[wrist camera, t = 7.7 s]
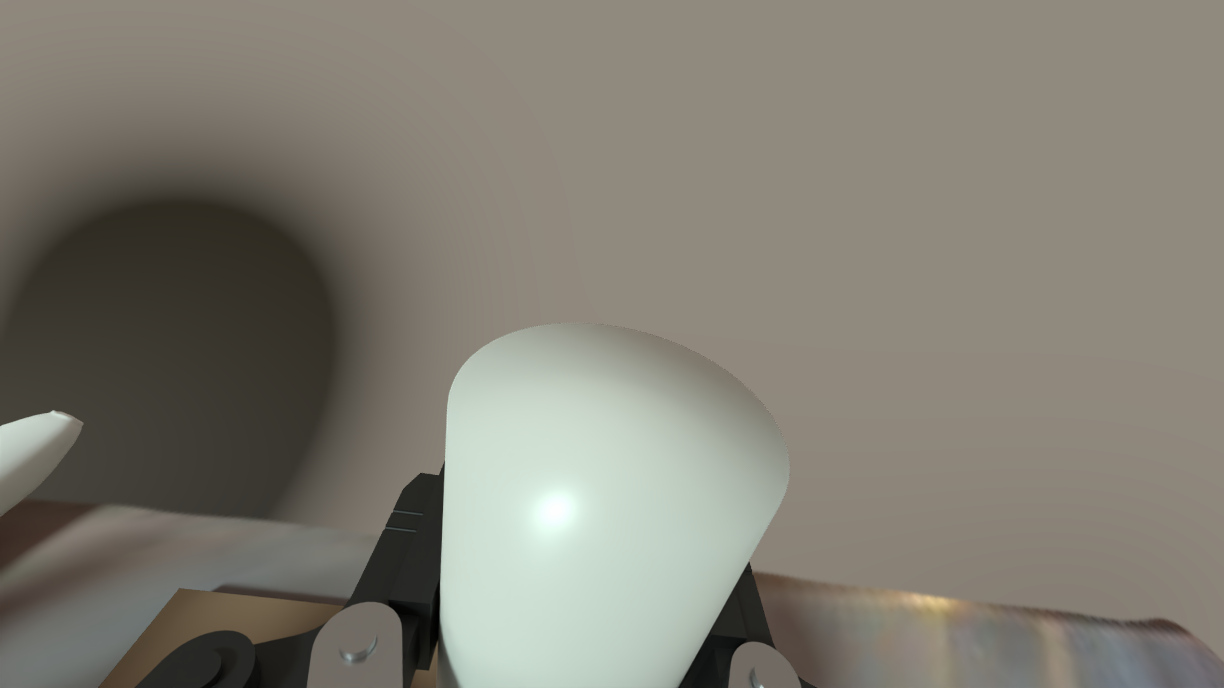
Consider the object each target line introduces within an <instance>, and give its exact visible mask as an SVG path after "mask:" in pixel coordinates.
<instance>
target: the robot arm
mask: <svg viewBox="0 0 1224 688" xmlns="http://www.w3.org/2000/svg"><path fill="white" fill-rule="evenodd" d="M444 476H445V462H444V464H443V467H442V469H441V471H440V474H439V475H432V474H425V473H420V474H419V475H418V476H417V477H416V478H415V479H413V480H412V481H411V482H410V483H409V484H408V485H407V486H406V487H405V488H404V489H403V490H402V493H401V495H400V497H399V499H398V501H397V503H396V505H395V508H394V510H393V513H391V516H390V518H389V520H388V522H387V524H386V527H385V530H383V532H382V534H381V536H380V538H379V540H378V543H377V545H376V547H375V549H374V551H373V553H372V555H371V557H370V559H369V561H368V563H367V566H366V568H365V570H364V572H363V574H362V576H361V578H360V580H359V582H358V584H357V586H356V589H355V591H354V593H353V594H352V596H351V598H350V600H349V601H348V602H347V604H346V605H345V606H344V607H343V608H342V609H341V611H340V612H339V613H337V614H336V615H335V616H333V617H332V618H331V619H330V620H329V621H327V622H326V623H324V624H323V625H321V626H319V627H317V628H315V629H313V630H310V631H308V632H305V633H302V634H298V635H294V636H289V637H285V638H280V639H276V640H271V641H267V642H262V643H258V644H253V643H252V642H251V640H250V639H249V638H248V637H247V636H246V635H244V634H242V633H240V632H236V631H230V630H222V631H214V632H210V633H206V634H203V635H200V636H198V637H196V638H194V639H191V640H189V641H187V642H186V643H184V644H182V645H181V646H179V647H178V648H176V649H175V650H174V651H172V652H171V653H170V654H168V655H167V656H166V657H165V658H164V659H163V660H162V661H161V662H160V663H159V664H158V665H157V666H156V667H155V668H154V669H153V670H152V671H151V672H150V673H149V674H148V675H147V676H146V677H145V678H144V679H143V680H142V681H141V682H140V683H139V684H138V685H136V686H135V687H134V688H410V687H411V684H412V680H413V677H414V674H415V671H416V670H427V671H429V669H430V666H431V662H432V659H433V655H434V652H435V648H436V645H437V642H438V628H439V603H440V578H441V552H442V527H443V502H444ZM678 688H817V687H815V686H813V685H811V684H809V683H807V682H805V681H804V680H802V679H801V678H800V677H798V676H797V674H796V672H795V670H794V669H793V667H792V666H791V664H790V663H789V662H788V661H787V659H786V658H785V657H784V656H783V655H782V654H781V653H779V652H778V651H777V650H776V648H775V646H774V644H773V641H772V638H771V635H770V631H769V628H768V625H767V621H766V618H765V614H764V611H763V607H762V604H761V600H760V597H759V593H758V590H757V587H756V583H755V580H754V576H753V575H752V569H751V566H750V562H748V563H747V565H746V567H745V569H744V571H743V572H742V574H741V576H740V578H739V580H738V581H737V583H736V585H735V587H734V589H733V590H732V592H731V594H730V596H729V598H728V599H727V601H726V603H725V605H724V606H723V608H722V610H721V612H720V614H719V615H718V617H717V619H716V621H715V623H714V624H713V626H712V628H711V630H710V632H709V633H708V635H707V637H706V639H705V641H704V642H703V644H702V646H701V648H700V650H699V651H698V653H697V655H696V657H695V658H694V660H693V662H692V664H691V666H690V667H689V669H688V671H687V673H686V675H685V676H684V678H683V680H682V682H681V684H680V685H679V687H678Z"/></svg>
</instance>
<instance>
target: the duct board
mask: <svg viewBox="0 0 1224 688" xmlns="http://www.w3.org/2000/svg"><path fill="white" fill-rule="evenodd" d="M343 607H344V606H341V605H331V604H322V603H312V602H303V601H294V600H284V599H275V598H266V597H256V596H247V595H238V594H228V593H219V592H209V591H200V590H191V589H181V588H179V589H178V591H177V592H176V593H175V594H174V596H173V597H172V598H171V599H170V600H169V602H168V603H167V604H166V605H165V607H164V608H163V609H162V610H161V611H160V613H159V614H158V615H157V616H156V618H155V619H154V620H153V621H152V622H151V624H150V625H149V626H148V627H147V629H146V630H145V631H144V632H143V633H142V635H141V636H140V637H139V638H138V640H137V641H136V642H135V643H134V644H133V646H132V647H131V648H130V649H129V651H128V652H127V653H126V654H125V655H124V657H123V658H122V659H121V660H120V662H119V663H118V664H117V665H116V666H115V668H114V669H113V670H112V671H111V673H110V674H109V675H108V676H107V677H106V679H105V680H104V681H103V682H102V684H101V685H100V686H99V687H98V688H134V687H135V686H136V685H138V684H139V683H140V682H141V681H142V680H143V679H144V678H145V677H146V676H147V675H148V674H149V673H150V672H151V671H152V670H153V669H154V668H155V667H156V666H157V665H158V664H159V663H160V662H161V661H162V660H163V659H164V658H165V657H166V656H167V655H168V654H170V653H171V652H172V651H174V650H175V649H176V648H178V647H179V646H181V645H182V644H184V643H186V642H187V641H189V640H191V639H194V638H196V637H198V636H200V635H203V634H206V633H210V632H214V631H222V630H230V631H236V632H240V633H242V634H244V635H246V636H247V637H248V638H249V639H250V640H251V642H252V643H253V644H258V643H262V642H267V641H271V640H276V639H280V638H285V637H289V636H294V635H298V634H302V633H305V632H308V631H310V630H313V629H315V628H317V627H319V626H321V625H323V624H324V623H326V622H327V621H329V620H330V619H331V618H332V617H333V616H335V615H336V614H337V613H339V612H340V611H341V609H342V608H343ZM437 654H438V642H437V645H436V648H435V652H434V655H433V659H432V662H431V666H430V669H429V671H427V670H416V671H415V674H414V677H413V680H412V684H411V687H410V688H436V679H437Z"/></svg>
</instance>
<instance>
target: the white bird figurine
mask: <svg viewBox="0 0 1224 688" xmlns="http://www.w3.org/2000/svg"><path fill="white" fill-rule="evenodd" d="M82 425H83V423H82V422H81V421H79V420H77V419H76V418H74V417H73V416H71V415H68V414H65V413H63V412H56V411H54V410H53V411H52V412H51V413H46V414H41V415H36V416H32V417H28V418H25V419H21V420H18V421H15V422H12V423H8V424H5V425H2V426H0V517H1V516H2V515H4V514H5V513H6V512H7V511H9V510H10V509H11V508H13V507H14V506H15V505H17V504H18V503H19V502H20V501H22V500H23V499H24V498H25V497H26V496H28V495H29V494H30V493H31V492H32V491H34V489H35V488H37V487H38V486H39V485H40V484H41V483H42V482H43V480H45V479H46V478H47V476H48V475H49V474H50V473H51V472H52V471H53V470H54V469H55V467H56V466H57V465H58V463H59V462H60V460H61V459H62V458H63V457H64V456H65V454H66V453H67V452H68V450H69V449H70V447H71V446H72V445H73V443H74V442H75V441H76V439H77V437H78V435H79V433H80V431H81V427H82Z"/></svg>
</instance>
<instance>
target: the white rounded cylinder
mask: <svg viewBox="0 0 1224 688" xmlns="http://www.w3.org/2000/svg"><path fill="white" fill-rule="evenodd" d="M789 470H790V469H789V456H788V452H787V447H786V443H785V441H784V438H783V436H782V433H781V431H780V429H779V427H778V425H777V424H776V422H775V420H774V418H773V417H772V415H771V414H770V413H769V411H768V410H767V409H766V407H765V406H764V404H763V403H762V402H761V401H760V400H759V399H758V398H757V397H756V396H755V395H754V394H753V392H751V391H750V390H749V389H748V388H747V387H746V386H745V385H744V384H743V383H742V382H741V381H739V380H738V379H737V378H736V377H734V376H733V375H732V374H730V373H729V372H728V371H726V370H725V369H723V368H722V367H720V366H719V365H717V364H716V363H714V362H713V361H711V360H709V359H707V358H706V357H704V356H702V355H700V354H698V353H696V352H694V351H692V350H690V349H688V348H686V347H684V346H682V345H679V344H677V343H674V342H672V341H669V340H667V339H664V338H661V337H657V336H654V335H651V334H648V333H644V332H641V331H637V330H632V329H627V328H622V327H617V326H611V325H604V324H592V323H558V324H549V325H541V326H535V327H531V328H526V329H522V330H519V331H516V332H513V333H510V334H507V335H505V336H503V337H500V338H498V339H496V340H494V341H492V342H491V343H489V344H487V345H485V346H484V347H482V348H481V349H480V350H479V351H477V352H476V353H475V354H474V355H472V356H471V357H470V358H469V359H468V360H467V362H466V363H465V364H464V365H463V366H462V367H461V369H460V370H459V372H458V374H457V375H456V377H455V378H454V381H453V384H452V386H451V389H450V392H449V398H448V406H447V427H446V451H445V476H444V502H443V527H442V552H441V578H440V603H439V628H438V654H437V679H436V688H678V687H679V685H680V684H681V682H682V680H683V678H684V676H685V675H686V673H687V671H688V669H689V667H690V666H691V664H692V662H693V660H694V658H695V657H696V655H697V653H698V651H699V650H700V648H701V646H702V644H703V642H704V641H705V639H706V637H707V635H708V633H709V632H710V630H711V628H712V626H713V624H714V623H715V621H716V619H717V617H718V615H719V614H720V612H721V610H722V608H723V606H724V605H725V603H726V601H727V599H728V598H729V596H730V594H731V592H732V590H733V589H734V587H735V585H736V583H737V581H738V580H739V578H740V576H741V574H742V572H743V571H744V569H745V567H746V565H747V563H748V562H749V560H750V558H751V556H752V554H753V553H754V551H755V549H756V547H757V546H758V544H759V542H760V540H761V538H762V536H763V535H764V533H765V531H766V529H767V528H768V526H769V524H770V522H771V520H772V519H773V517H774V515H775V513H776V511H777V509H778V508H779V506H780V504H781V502H782V500H783V497H784V495H785V493H786V490H787V486H788V480H789V476H790V473H789Z"/></svg>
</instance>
